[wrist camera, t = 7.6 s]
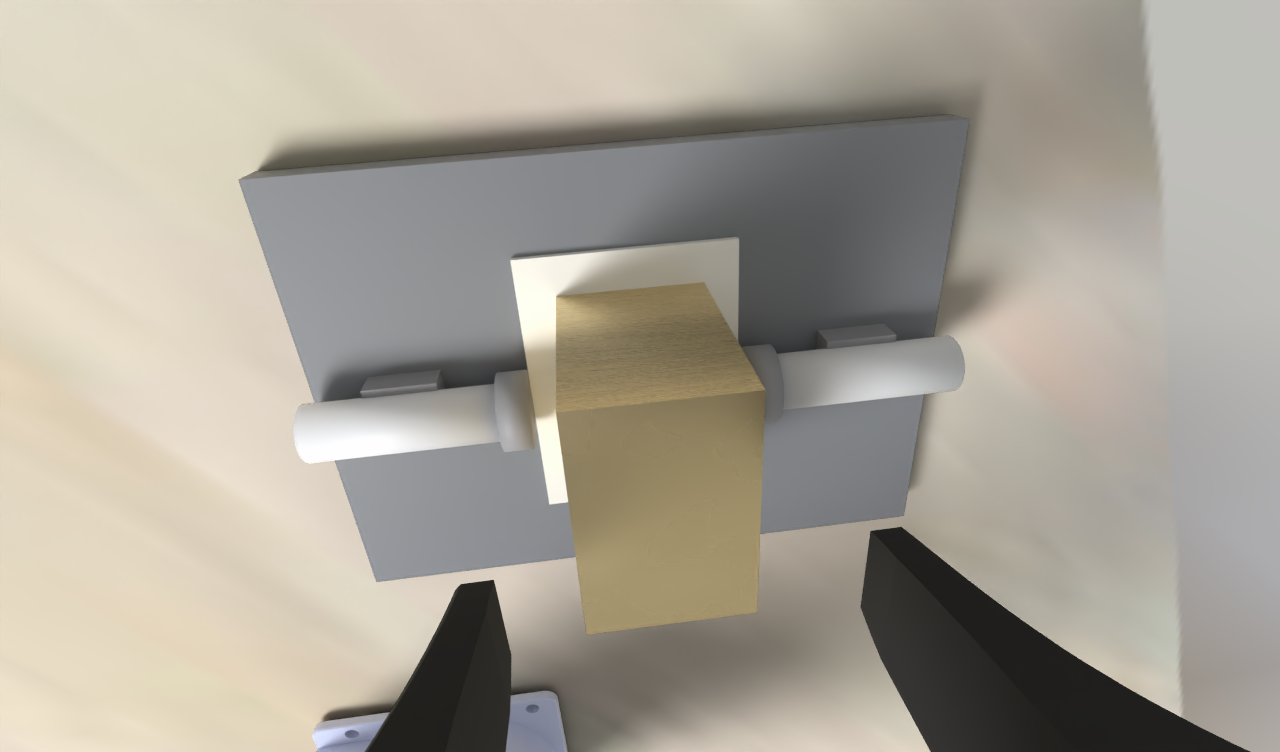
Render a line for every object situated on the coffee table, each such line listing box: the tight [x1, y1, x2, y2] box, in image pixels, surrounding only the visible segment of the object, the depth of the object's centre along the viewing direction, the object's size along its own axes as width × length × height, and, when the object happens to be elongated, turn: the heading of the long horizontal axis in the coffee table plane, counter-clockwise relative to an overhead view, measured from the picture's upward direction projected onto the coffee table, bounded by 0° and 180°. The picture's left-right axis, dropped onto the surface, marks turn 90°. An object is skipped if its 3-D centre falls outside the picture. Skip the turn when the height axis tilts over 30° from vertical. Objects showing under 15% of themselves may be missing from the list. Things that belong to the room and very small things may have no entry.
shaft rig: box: [239, 114, 970, 582], centre depth 19 cm, size 18×13×3 cm
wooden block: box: [556, 282, 766, 635], centre depth 17 cm, size 4×6×6 cm, turn 3°
